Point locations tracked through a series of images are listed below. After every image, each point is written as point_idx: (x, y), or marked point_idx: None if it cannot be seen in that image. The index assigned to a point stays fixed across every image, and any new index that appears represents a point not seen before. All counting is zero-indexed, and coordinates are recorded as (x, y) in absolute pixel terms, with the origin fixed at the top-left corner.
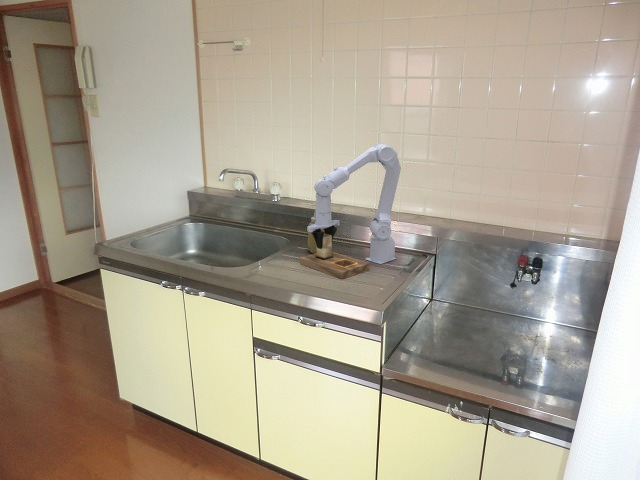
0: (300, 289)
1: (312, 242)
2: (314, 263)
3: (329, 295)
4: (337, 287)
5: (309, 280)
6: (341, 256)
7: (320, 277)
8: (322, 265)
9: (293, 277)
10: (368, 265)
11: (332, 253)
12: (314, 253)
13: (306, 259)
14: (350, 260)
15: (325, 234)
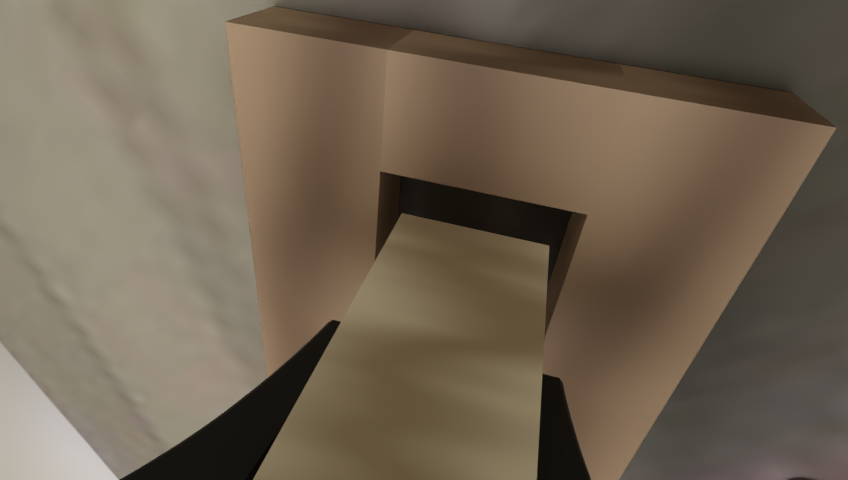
0: (32, 345)
1: None
2: (260, 276)
3: (128, 463)
4: None
5: (132, 324)
6: (599, 405)
7: (218, 354)
8: (266, 365)
9: (55, 211)
10: None
11: (664, 288)
12: (519, 74)
13: (249, 154)
14: None
15: None
